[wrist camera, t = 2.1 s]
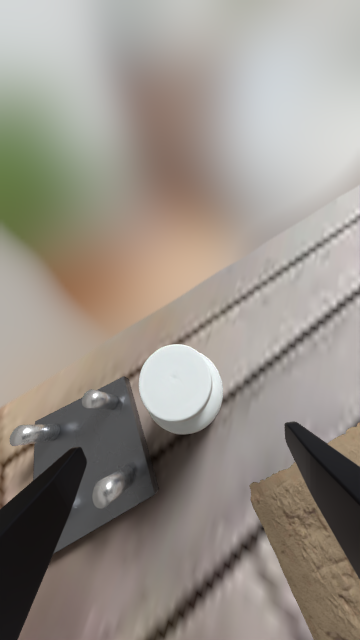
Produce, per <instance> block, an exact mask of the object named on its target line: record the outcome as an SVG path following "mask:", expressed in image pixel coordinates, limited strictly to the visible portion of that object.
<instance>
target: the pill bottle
mask: <svg viewBox="0 0 360 640" xmlns="http://www.w3.org/2000/svg"><path fill="white" fill-rule="evenodd" d="M139 392H140V397H141V399H142V402H143V404H144V405H145V407H146V408H147V410H148V411H149V414H150V415H151V417H152V418H153V420H154V421H155V422H156V423H157V424H158V425H159V426H160V427H162V428H163V429H165V430H167V431H169V432H172V433H175V434H192V433H195V432H198V431H200V430H202V429H204V428H206V427H207V426H208V425H209V424H210V423H211V422H212V421H213V420H214V419H215V417H216V416H217V414H218V412H219V410H220V407H221V403H222V398H223V385H222V380H221V377H220V375H219V372H218V370H217V368H216V367H215V365H214V364H213V363H212V362H211V361H210V360H209V359H208V358H207V357H206V356H204V355H203V354H201V353H199V352H198V351H196V350H195V349H193V348H191V347H189V346H185V345H180V344H174V345H168V346H165V347H162V348H160V349H159V350H157V351H155V352H154V353H153V354H152V355H151V356H150V357H149V358H148V359H147V361H146V362H145V364H144V365H143V367H142V370H141V373H140V377H139Z"/></svg>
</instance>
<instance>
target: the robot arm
mask: <svg viewBox="0 0 360 640" xmlns="http://www.w3.org/2000/svg"><path fill="white" fill-rule="evenodd" d="M285 439H286V443H287V445H288V447H289V449H290V451H291V454H292V456H293V458H294V460H295V462H296V464H297V466H298V468H299V470H300V473H301V475H302V477H303V479H304V481H305V483H306V485H307V487H308V489H309V491H310V493H311V495H312V497H313V499H314V501H315V502H316V504H317V506H318V508H319V509H320V511H321V513H322V515H323V516H324V518H325V520H326V522H327V523H328V525H329V527H330V529H331V530H332V532H333V534H334V536H335V537H336V539H337V541H338V543H339V544H340V546H341V548H342V550H343V551H344V553H345V555H346V557H347V558H348V560H349V562H350V564H351V565H352V567H353V569H354V571H355V572H356V574H357V576H358V578H359V579H360V466H358V465H357V464H355V463H354V462H353V461H351V460H350V459H348V458H347V457H346V456H344V455H343V454H341V453H340V452H338V451H337V450H336V449H334V448H333V447H331V446H330V445H328V444H327V443H326V442H324V441H323V440H321V439H320V438H318V437H317V436H316V435H314V434H313V433H311V432H310V431H309V430H307V429H306V428H304V427H303V426H301V425H300V424H299V423H297V422H286V423H285ZM86 465H87V459H86V456H85V454H84V452H83V450H82V448H81V447H73V448H71V449H69V450H68V451H67V452H66V453H65V454H63V455H62V456H61V457H60V458H59V459H58V460H56V461H55V462H54V463H53V464H52V465H51V466H50V467H48V468H47V469H46V470H45V471H44V472H43V473H42V474H40V475H39V476H38V477H37V478H36V479H35V480H33V481H32V482H31V483H30V484H29V485H28V486H27V487H25V488H24V489H23V490H22V491H21V492H20V493H19V494H17V495H16V496H15V497H14V498H13V499H12V500H10V501H9V502H8V503H7V504H6V505H5V506H4V507H2V508H1V509H0V640H17V639H18V637H19V635H20V632H21V630H22V627H23V625H24V623H25V620H26V618H27V616H28V613H29V611H30V608H31V606H32V604H33V601H34V599H35V596H36V594H37V592H38V589H39V587H40V584H41V582H42V580H43V577H44V575H45V572H46V570H47V568H48V565H49V563H50V560H51V558H52V556H53V553H54V551H55V548H56V546H57V544H58V541H59V539H60V536H61V534H62V532H63V529H64V527H65V524H66V522H67V520H68V517H69V515H70V512H71V509H72V507H73V504H74V501H75V498H76V495H77V492H78V489H79V486H80V483H81V480H82V477H83V475H84V472H85V469H86Z"/></svg>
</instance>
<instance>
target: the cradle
mask: <svg viewBox="0 0 360 640" xmlns="http://www.w3.org/2000/svg"><path fill="white" fill-rule="evenodd" d="M32 443H35V447H34V476H33V480H35V479H36V478H37V477H38V476H39V475H40V474H42V473H43V472H44V471H45V470H46V469H47V468H48V467H50V466H51V465H52V464H53V463H54V462H55V461H56V460H58V459H59V458H60V457H61V456H62V455H63V454H65V453H66V452H67V451H68V450H69V449H71V448H73V447H81V448H82V450H83V452H84V454H85V456H86V459H87V465H86V469H85V472H84V475H83V477H82V480H81V483H80V486H79V489H78V492H77V495H76V498H75V501H74V504H73V507H72V509H71V512H70V515H69V517H68V520H67V522H66V524H65V527H64V529H63V532H62V534H61V536H60V539H59V541H58V544H57V546H56V548H55V551H54V553H55V552H57V551H59V550H61V549H62V548H64V547H66V546H67V545H69V544H71V543H73V542H74V541H76V540H78V539H79V538H81V537H83V536H85V535H86V534H88V533H90V532H91V531H93V530H95V529H96V528H98V527H100V526H102V525H103V524H105V523H107V522H108V521H110V520H112V519H114V518H115V517H117V516H119V515H120V514H122V513H124V512H126V511H127V510H129V509H131V508H132V507H134V506H136V505H138V504H139V503H141V502H143V501H144V500H146V499H148V498H150V497H151V496H153V495H155V493H156V492H157V491H158V490H159V487H158V484H157V480H156V477H155V473H154V469H153V466H152V462H151V458H150V455H149V451H148V448H147V444H146V440H145V437H144V433H143V429H142V426H141V422H140V419H139V415H138V411H137V408H136V404H135V400H134V397H133V393H132V390H131V386H130V382H129V379H128V378H126V377H122V378H120V379H118V380H116V381H114V382H112V383H110V384H108V385H106V386H104V387H102V388H100V389H98V390H89V391H87V392H86V393H85V394H84V396H83V397H82V398H81V399H79V400H77V401H75V402H73V403H71V404H69V405H67V406H65V407H63V408H61V409H59V410H57V411H55V412H53V413H51V414H49V415H47V416H45V417H43V418H41V419H39V420H37V421H35V425H20V426H18V427H17V428H16V429H15V430H14V431H13V432H12V434H11V436H10V444H11V445H12V446H18V445H25V444H32ZM54 553H53V554H54Z"/></svg>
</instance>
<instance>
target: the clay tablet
mask: <svg viewBox="0 0 360 640" xmlns="http://www.w3.org/2000/svg"><path fill="white" fill-rule="evenodd" d="M327 444H328V445H330V446H331V447H333V448H334V449H336V450H337V451H338V452H340V453H341V454H343V455H344V456H346V457H347V458H348V459H350V460H351V461H353V462H354V463H355V464H357V465H358V466H360V423H358V424H357V427H351V428H350V429H348V430H347V431H346V434H342V435H341V436H339V437H337V438H335V439H333V440H332V441H330V442H329V443H327ZM250 489H251V502H252V505H253V508H254V510H255V512H256V514H257V516H258V518H259V520H260V522H261V524H262V525H263V527H264V530H265V532H266V534H267V537H268V539H269V542H270V544H271V546H272V548H273V550H274V552H275V554H276V556H277V558H278V561H279V563H280V566H281V568H282V570H283V573H284V575H285V577H286V579H287V581H288V584H289V586H290V588H291V591H292V593H293V595H294V597H295V599H296V601H297V603H298V605H299V607H300V609H301V612H302V614H303V616H304V618H305V621H306V623H307V625H308V627H309V630H310V632H311V634H312V636H313V639H314V640H360V579H359V578H358V576H357V574H356V572H355V571H354V569H353V567H352V565H351V564H350V562H349V560H348V558H347V557H346V555H345V553H344V551H343V550H342V548H341V546H340V544H339V543H338V541H337V539H336V537H335V536H334V534H333V532H332V530H331V529H330V527H329V525H328V523H327V522H326V520H325V518H324V516H323V515H322V513H321V511H320V509H319V508H318V506H317V504H316V502H315V501H314V499H313V497H312V495H311V493H310V491H309V489H308V487H307V485H306V483H305V481H304V479H303V477H302V475H301V473H300V470H299V468H298V466H297V464H296V462H294V464H293V465H291V467H290V468H288V469H286V470H282V471H279V472H278V473H276V474H272V476H271V477H267V478H266V480H265V481H264V480H261V481H260V483H257V482H253V483H252V484H251V485H250Z"/></svg>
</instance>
